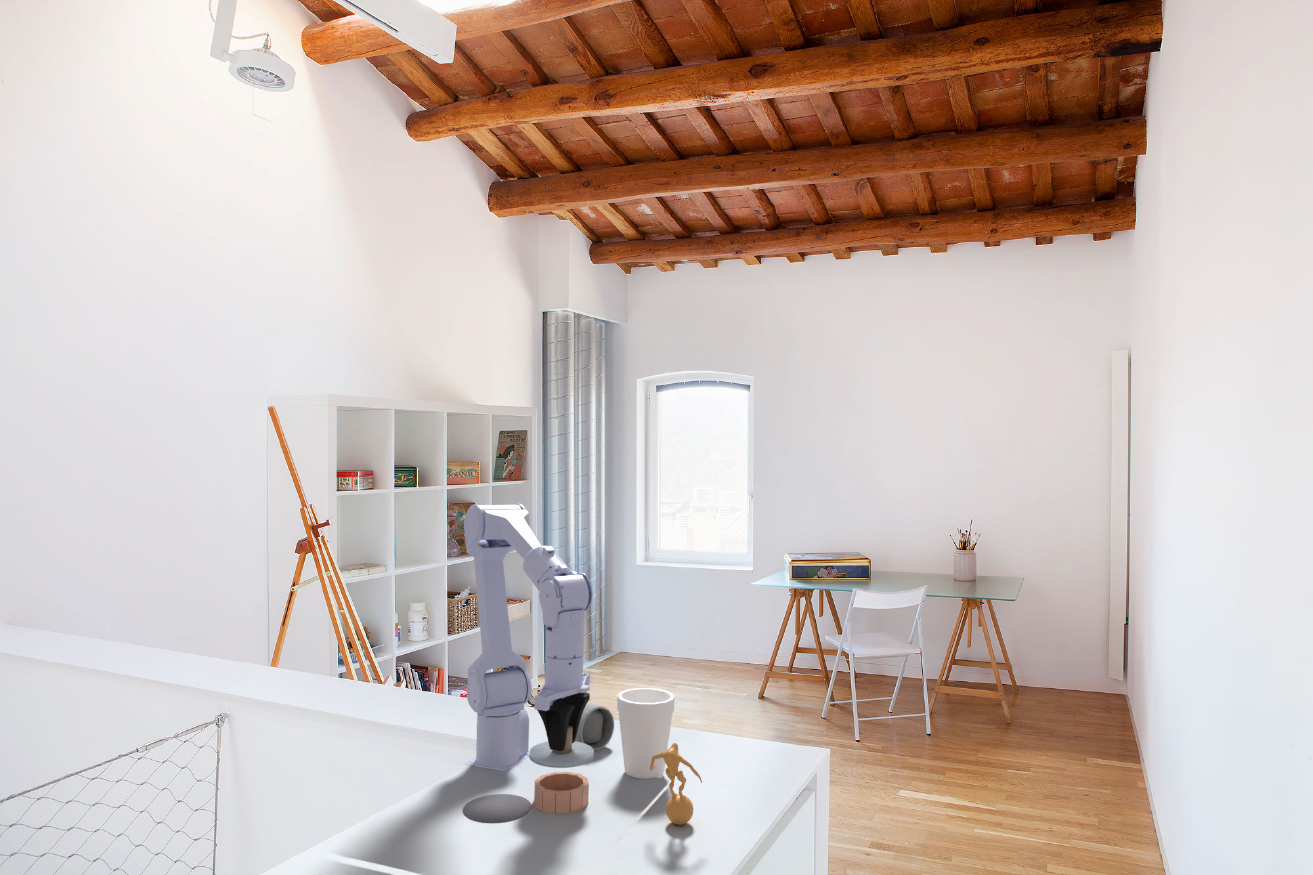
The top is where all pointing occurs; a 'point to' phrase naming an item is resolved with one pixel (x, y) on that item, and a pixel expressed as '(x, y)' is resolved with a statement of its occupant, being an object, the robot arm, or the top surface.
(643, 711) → the foam cup
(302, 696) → the top surface
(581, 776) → the bowl
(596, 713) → the ceramic mug
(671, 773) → the figurine
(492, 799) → the mat
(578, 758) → the lid
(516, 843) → the top surface
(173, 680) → the top surface
